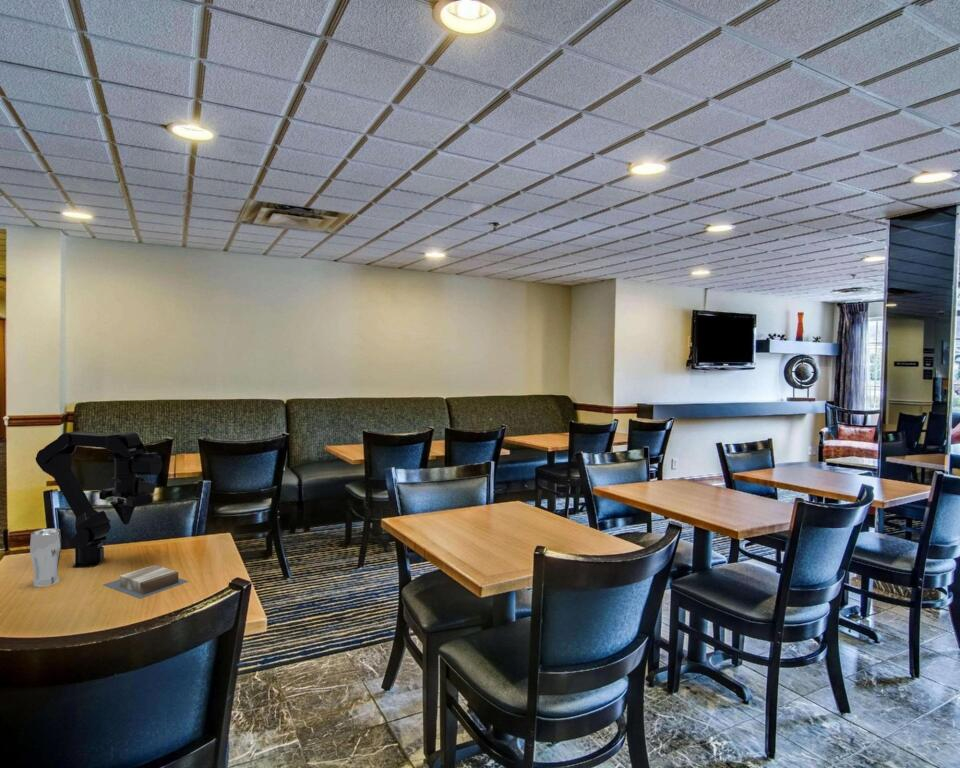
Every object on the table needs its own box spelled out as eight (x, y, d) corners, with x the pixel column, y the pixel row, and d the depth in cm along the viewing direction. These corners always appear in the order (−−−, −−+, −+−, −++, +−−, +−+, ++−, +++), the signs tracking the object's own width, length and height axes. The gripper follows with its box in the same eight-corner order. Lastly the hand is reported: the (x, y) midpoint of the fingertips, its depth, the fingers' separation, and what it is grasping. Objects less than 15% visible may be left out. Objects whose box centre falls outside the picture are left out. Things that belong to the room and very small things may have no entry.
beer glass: (67, 581, 164) (67, 529, 163) (41, 590, 157) (41, 536, 156) (50, 578, 166) (49, 526, 165) (24, 586, 159) (23, 533, 159)
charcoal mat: (102, 586, 161) (102, 584, 161) (151, 571, 173) (151, 569, 173) (140, 600, 152) (140, 598, 152) (189, 583, 164) (189, 581, 164)
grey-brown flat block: (119, 575, 160) (143, 583, 154) (155, 564, 168) (178, 572, 163) (119, 586, 160) (143, 594, 155) (155, 574, 169) (178, 582, 163)
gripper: (169, 472, 178) (170, 522, 178) (134, 466, 187) (134, 514, 187) (133, 479, 168) (133, 531, 169) (98, 472, 177) (98, 522, 178)
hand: (126, 524), depth 176 cm, fingers closed
